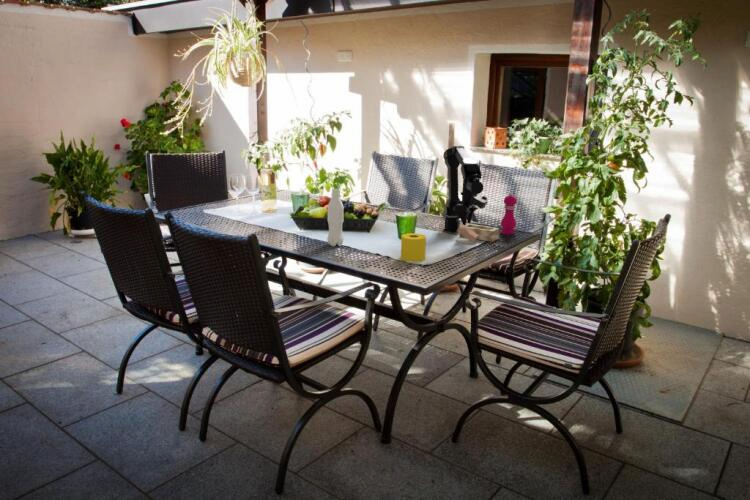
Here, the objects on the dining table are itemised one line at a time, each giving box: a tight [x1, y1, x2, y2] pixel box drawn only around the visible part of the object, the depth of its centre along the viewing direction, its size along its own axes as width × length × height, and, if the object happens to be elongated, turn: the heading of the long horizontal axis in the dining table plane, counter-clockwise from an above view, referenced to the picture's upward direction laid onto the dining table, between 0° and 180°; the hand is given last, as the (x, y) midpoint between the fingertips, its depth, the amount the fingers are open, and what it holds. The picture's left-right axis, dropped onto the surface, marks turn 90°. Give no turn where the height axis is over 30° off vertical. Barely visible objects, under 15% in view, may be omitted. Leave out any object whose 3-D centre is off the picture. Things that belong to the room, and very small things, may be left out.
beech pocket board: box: [459, 223, 500, 243], centre depth 288 cm, size 16×8×5 cm, turn 59°
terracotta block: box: [456, 224, 479, 242], centre depth 280 cm, size 9×4×2 cm, turn 64°
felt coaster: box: [455, 236, 477, 244], centre depth 282 cm, size 9×9×1 cm
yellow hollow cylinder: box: [400, 232, 427, 263], centre depth 251 cm, size 10×10×9 cm
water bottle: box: [326, 188, 345, 247], centre depth 267 cm, size 7×7×25 cm
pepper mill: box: [500, 191, 518, 235], centre depth 296 cm, size 7×7×20 cm
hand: (466, 223), depth 280 cm, fingers open, 5 cm apart
